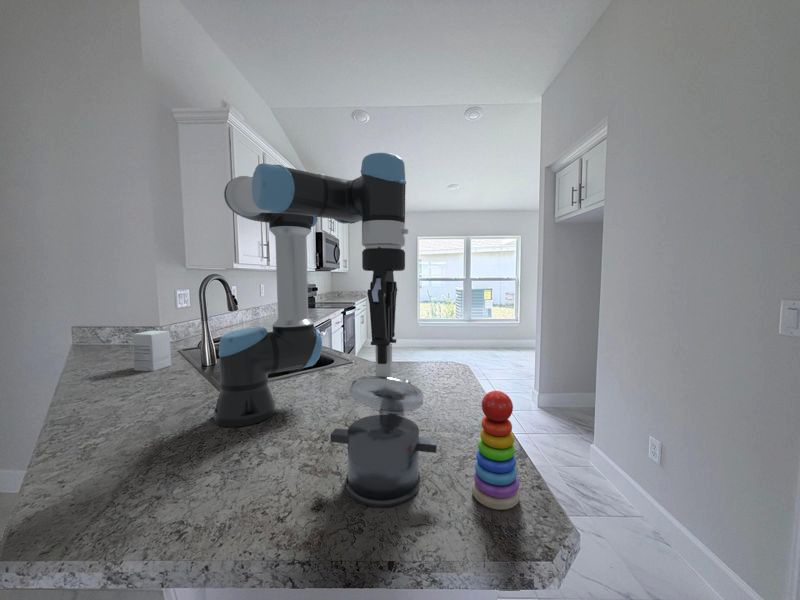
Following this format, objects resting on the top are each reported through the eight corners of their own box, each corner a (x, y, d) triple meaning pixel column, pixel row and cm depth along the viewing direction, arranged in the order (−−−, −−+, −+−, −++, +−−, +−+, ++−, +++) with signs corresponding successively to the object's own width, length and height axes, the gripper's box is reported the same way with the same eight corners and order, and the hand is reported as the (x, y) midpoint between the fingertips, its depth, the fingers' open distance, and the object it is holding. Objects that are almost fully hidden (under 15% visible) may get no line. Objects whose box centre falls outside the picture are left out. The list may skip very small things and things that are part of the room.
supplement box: (153, 364, 139) (151, 330, 138) (172, 365, 138) (170, 330, 137) (133, 370, 130) (131, 333, 129) (152, 371, 129) (151, 334, 128)
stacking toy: (466, 482, 60) (468, 383, 59) (507, 480, 61) (510, 382, 59) (480, 514, 52) (482, 400, 51) (528, 511, 53) (531, 398, 52)
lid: (339, 382, 57) (344, 363, 59) (359, 413, 68) (363, 396, 70) (419, 388, 54) (421, 368, 56) (425, 419, 66) (427, 401, 68)
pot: (318, 499, 55) (317, 442, 55) (346, 456, 69) (345, 410, 68) (432, 515, 52) (433, 455, 51) (439, 466, 65) (439, 418, 64)
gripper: (397, 244, 50) (397, 394, 52) (410, 250, 63) (409, 370, 65) (351, 245, 51) (352, 391, 53) (372, 251, 64) (373, 368, 66)
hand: (383, 379), depth 59 cm, fingers closed
